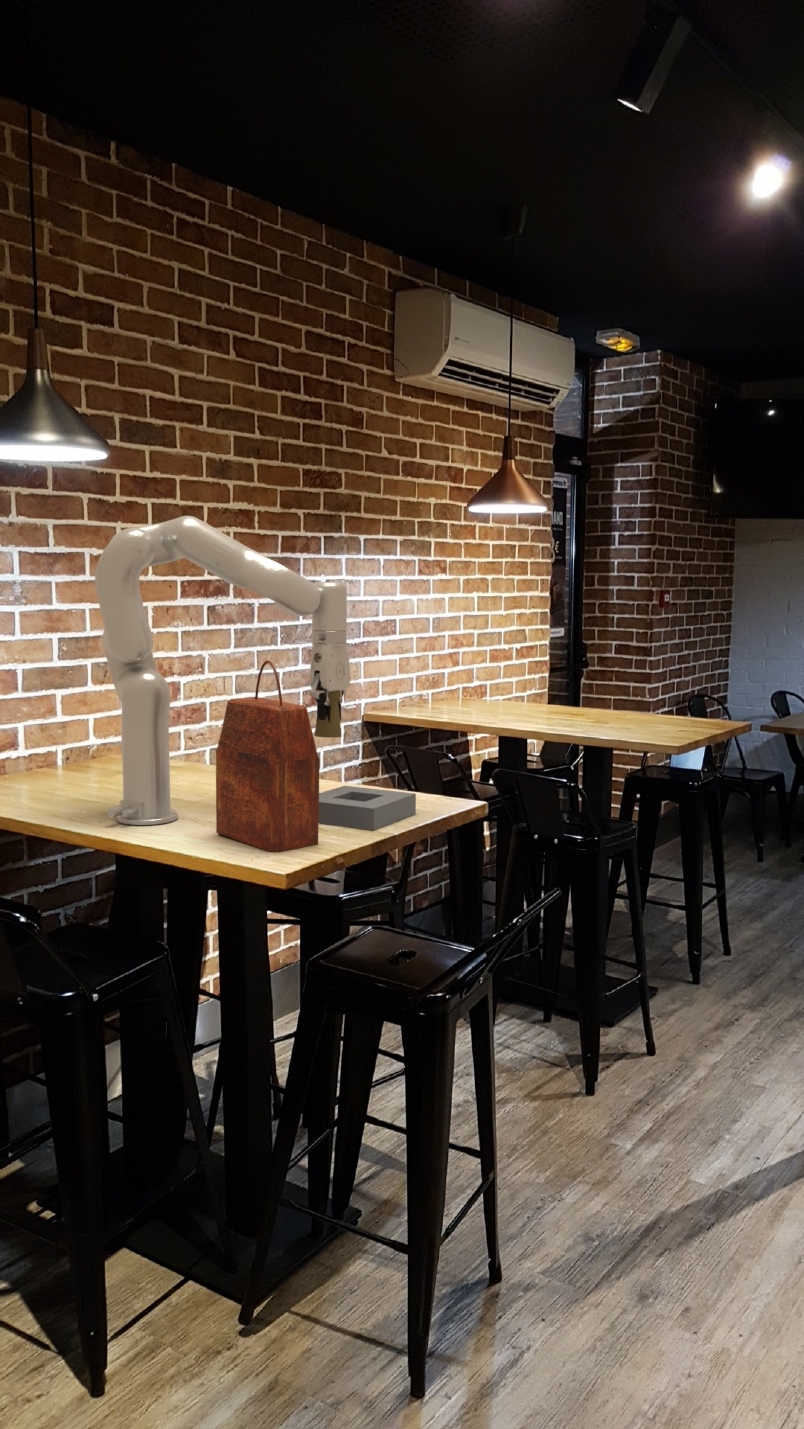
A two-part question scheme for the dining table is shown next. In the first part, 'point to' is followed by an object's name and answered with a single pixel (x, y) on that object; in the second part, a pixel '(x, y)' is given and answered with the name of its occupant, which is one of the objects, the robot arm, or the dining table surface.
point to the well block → (364, 807)
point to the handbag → (267, 774)
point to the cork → (334, 726)
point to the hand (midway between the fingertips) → (329, 721)
